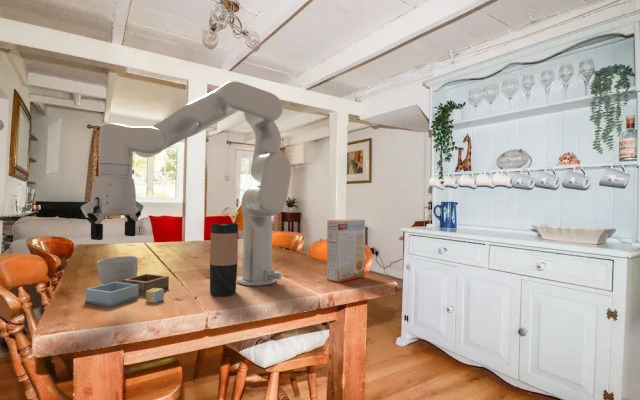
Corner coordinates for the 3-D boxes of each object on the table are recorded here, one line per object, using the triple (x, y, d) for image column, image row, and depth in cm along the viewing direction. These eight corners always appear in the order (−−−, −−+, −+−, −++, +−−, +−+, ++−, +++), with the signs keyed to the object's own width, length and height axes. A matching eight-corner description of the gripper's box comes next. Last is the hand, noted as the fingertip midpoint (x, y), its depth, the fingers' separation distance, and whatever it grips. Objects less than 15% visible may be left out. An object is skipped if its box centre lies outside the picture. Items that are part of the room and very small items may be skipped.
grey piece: (118, 290, 98) (119, 262, 98) (87, 287, 101) (87, 260, 101) (151, 279, 112) (152, 255, 112) (123, 276, 114) (123, 253, 114)
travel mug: (229, 297, 94) (231, 225, 94) (203, 295, 95) (205, 224, 95) (240, 290, 101) (242, 223, 101) (217, 288, 103) (218, 222, 102)
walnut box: (168, 287, 102) (168, 276, 102) (146, 295, 94) (146, 282, 94) (146, 285, 105) (146, 273, 105) (122, 291, 97) (123, 279, 97)
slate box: (138, 297, 92) (138, 284, 92) (110, 306, 84) (110, 292, 84) (114, 294, 94) (115, 281, 94) (85, 302, 86) (85, 288, 86)
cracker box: (352, 274, 127) (353, 218, 127) (364, 277, 123) (366, 219, 123) (325, 279, 118) (326, 219, 118) (337, 283, 114) (339, 220, 114)
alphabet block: (155, 303, 88) (155, 291, 88) (145, 302, 88) (145, 290, 88) (163, 300, 91) (164, 288, 91) (154, 298, 91) (154, 287, 91)
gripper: (132, 174, 98) (131, 234, 98) (72, 169, 82) (70, 240, 82) (153, 174, 96) (151, 235, 96) (95, 169, 79) (93, 242, 79)
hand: (114, 237), depth 89 cm, fingers open, 9 cm apart
